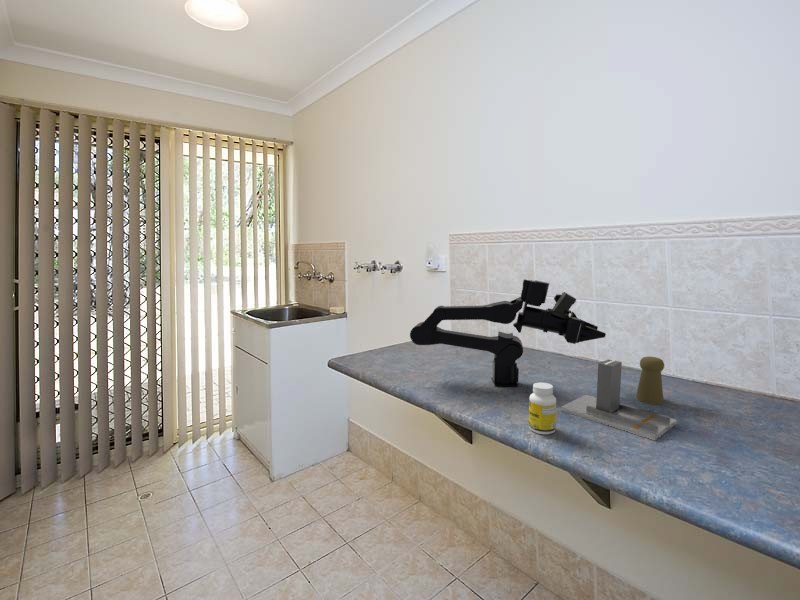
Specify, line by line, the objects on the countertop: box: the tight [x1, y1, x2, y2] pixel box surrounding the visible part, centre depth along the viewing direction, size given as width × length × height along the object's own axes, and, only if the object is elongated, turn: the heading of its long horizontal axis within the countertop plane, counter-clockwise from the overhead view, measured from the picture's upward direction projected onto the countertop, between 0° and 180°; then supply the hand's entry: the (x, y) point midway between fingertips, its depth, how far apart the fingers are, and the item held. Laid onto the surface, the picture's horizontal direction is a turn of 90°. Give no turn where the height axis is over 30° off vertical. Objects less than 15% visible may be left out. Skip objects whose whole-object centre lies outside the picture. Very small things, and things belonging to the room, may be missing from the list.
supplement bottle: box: [528, 382, 557, 435], centre depth 85 cm, size 5×5×10 cm
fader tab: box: [596, 359, 623, 412], centre depth 93 cm, size 3×5×11 cm, turn 129°
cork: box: [635, 356, 665, 405], centre depth 101 cm, size 6×6×11 cm
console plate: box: [560, 394, 677, 441], centre depth 92 cm, size 20×12×2 cm, turn 39°
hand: (601, 331), depth 108 cm, fingers open, 9 cm apart
